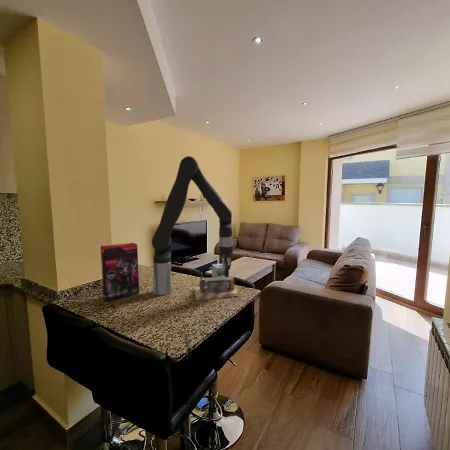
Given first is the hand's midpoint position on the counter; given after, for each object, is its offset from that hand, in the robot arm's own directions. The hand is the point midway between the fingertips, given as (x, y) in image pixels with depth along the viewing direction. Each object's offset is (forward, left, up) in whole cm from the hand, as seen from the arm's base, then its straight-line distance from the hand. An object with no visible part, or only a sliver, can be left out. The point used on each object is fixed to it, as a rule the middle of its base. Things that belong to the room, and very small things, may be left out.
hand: (226, 276), depth 137 cm
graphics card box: (-55, +6, -10) cm, 56 cm away
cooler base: (-6, 0, -9) cm, 11 cm away
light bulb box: (0, +18, -10) cm, 20 cm away
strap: (-5, 0, -2) cm, 6 cm away
